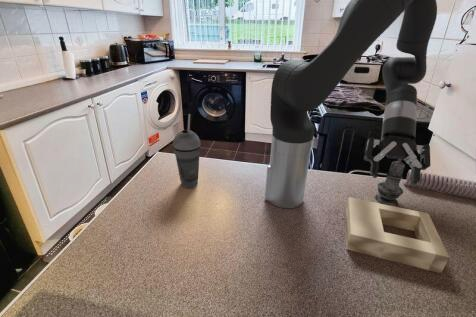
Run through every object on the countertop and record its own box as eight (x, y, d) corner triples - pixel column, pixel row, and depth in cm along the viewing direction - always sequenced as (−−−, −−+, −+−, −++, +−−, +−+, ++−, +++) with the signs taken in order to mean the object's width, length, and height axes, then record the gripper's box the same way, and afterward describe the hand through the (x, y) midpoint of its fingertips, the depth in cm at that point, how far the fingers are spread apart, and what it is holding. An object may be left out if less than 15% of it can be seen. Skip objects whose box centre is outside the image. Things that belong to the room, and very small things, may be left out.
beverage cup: (181, 175, 76) (175, 108, 67) (205, 178, 75) (203, 110, 66) (172, 189, 69) (164, 117, 60) (198, 192, 68) (194, 119, 59)
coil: (408, 174, 71) (490, 190, 65) (406, 165, 75) (484, 180, 69) (403, 188, 74) (481, 204, 67) (401, 178, 77) (476, 193, 71)
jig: (346, 249, 52) (350, 233, 50) (345, 210, 63) (348, 197, 61) (440, 273, 47) (449, 257, 45) (421, 227, 58) (428, 213, 56)
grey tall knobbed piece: (402, 208, 64) (418, 165, 59) (377, 204, 65) (390, 162, 60) (394, 194, 70) (409, 154, 64) (371, 192, 71) (383, 152, 65)
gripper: (373, 112, 67) (366, 170, 63) (437, 119, 63) (434, 182, 58) (366, 125, 74) (359, 179, 69) (423, 132, 70) (420, 190, 65)
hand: (393, 180), depth 64 cm, fingers open, 8 cm apart
